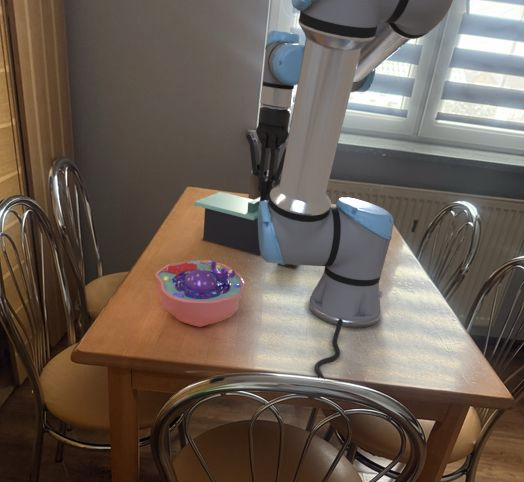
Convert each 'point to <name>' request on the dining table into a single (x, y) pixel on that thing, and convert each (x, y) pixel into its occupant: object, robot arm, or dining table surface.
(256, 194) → the pillar candle
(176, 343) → the dining table surface
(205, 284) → the cell model
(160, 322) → the dining table surface
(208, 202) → the lid
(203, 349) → the dining table surface
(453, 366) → the dining table surface
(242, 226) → the bin
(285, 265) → the block
